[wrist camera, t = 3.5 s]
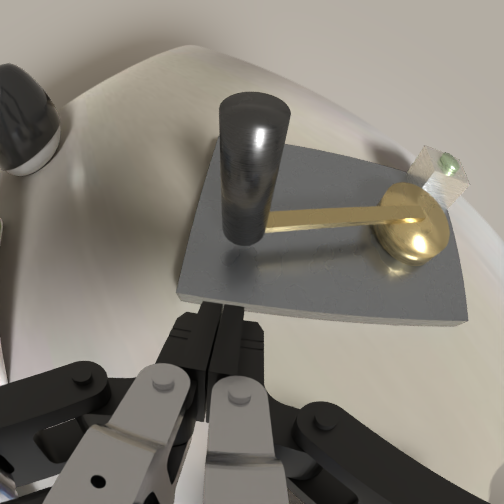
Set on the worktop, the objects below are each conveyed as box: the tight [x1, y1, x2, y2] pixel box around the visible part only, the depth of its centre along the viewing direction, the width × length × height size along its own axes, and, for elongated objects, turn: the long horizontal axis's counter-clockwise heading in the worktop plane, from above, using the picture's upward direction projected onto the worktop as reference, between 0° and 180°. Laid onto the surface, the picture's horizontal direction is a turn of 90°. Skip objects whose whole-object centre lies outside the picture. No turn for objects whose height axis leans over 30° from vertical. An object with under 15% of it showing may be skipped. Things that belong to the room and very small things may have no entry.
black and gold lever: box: [219, 92, 450, 266], centre depth 16 cm, size 19×7×11 cm, turn 98°
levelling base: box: [176, 136, 470, 326], centre depth 21 cm, size 25×16×7 cm, turn 83°
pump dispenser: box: [0, 63, 61, 176], centre depth 19 cm, size 10×10×15 cm
